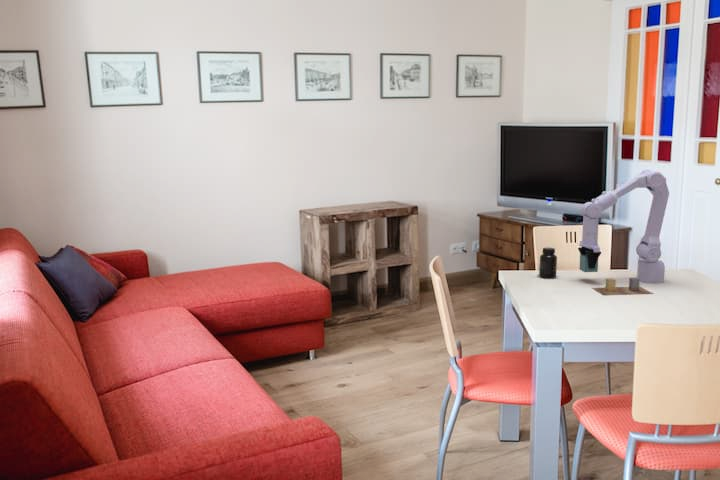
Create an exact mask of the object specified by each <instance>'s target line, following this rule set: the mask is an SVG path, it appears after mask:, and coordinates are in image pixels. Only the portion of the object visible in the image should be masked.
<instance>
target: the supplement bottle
mask: <svg viewBox="0 0 720 480" xmlns="http://www.w3.org/2000/svg"><path fill="white" fill-rule="evenodd" d="M555 253H556V248H555V247H543V248H542V254H541V255H539V268H538V269H539V271H538V275H539V277H540V278H542V279H555V278H556V277H557V267H558V266H557V265H558V257H557V255H555Z"/></svg>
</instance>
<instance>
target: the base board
mask: <svg viewBox="0 0 720 480" xmlns="http://www.w3.org/2000/svg"><path fill="white" fill-rule="evenodd" d="M605 287H606V286H605ZM605 287H591V289H592V290H594V291H596V292H597V293H599V294H600V295H602V296H625V295H626V296H630V295H632V296H633V295H636V296H637V295H654V292H651V291H649V290H648V289H645V288H644V287H642V286H640V285H639V291H630V290H629V286H615V292H607V291H606V290H605Z"/></svg>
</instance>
